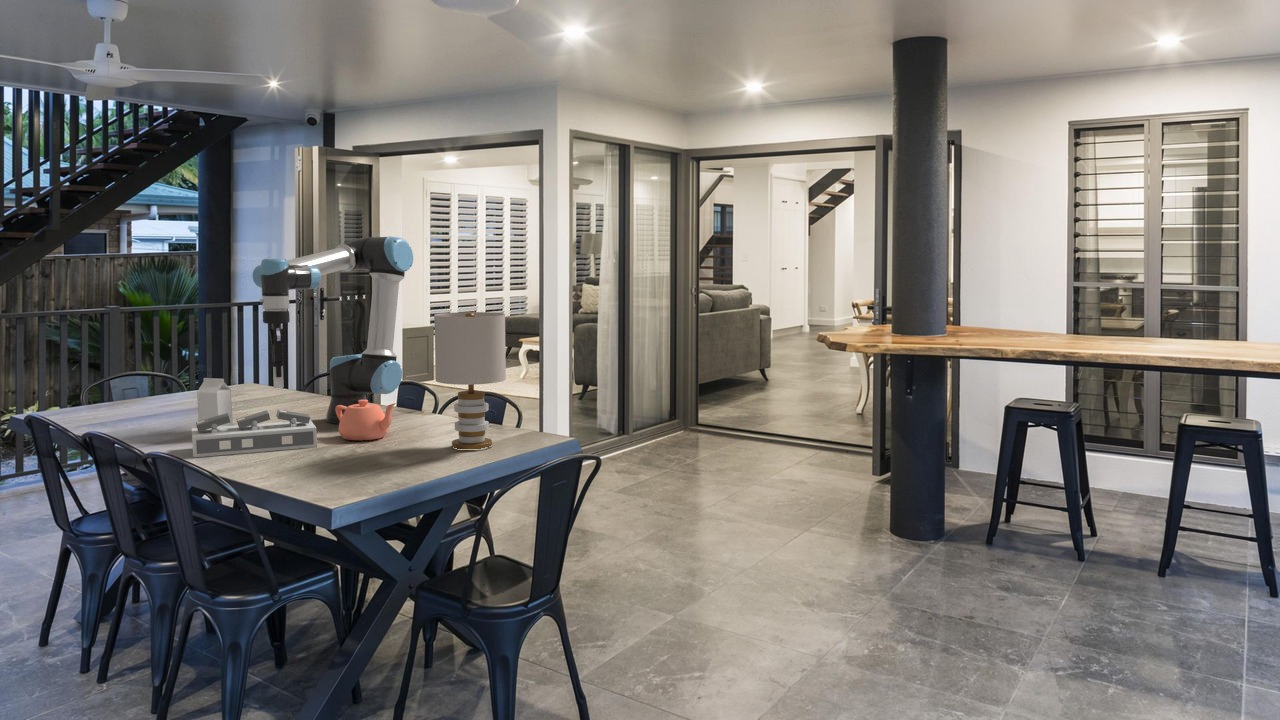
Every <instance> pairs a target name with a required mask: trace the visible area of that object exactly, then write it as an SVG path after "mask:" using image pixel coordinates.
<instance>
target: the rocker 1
mask: <svg viewBox="0 0 1280 720" xmlns="http://www.w3.org/2000/svg"><path fill="white" fill-rule="evenodd" d="M227 423H230V418H229V415H228V413H225V414H222V415H218V416H215V417H212V418H208V419H205V420H201V421H199V420H198V421H196V422H195V427H196V428H197V429H198V432H200V431H203V430H207V429H210V428H213V429H216V428H217V426H220V425H223V424H227Z"/></svg>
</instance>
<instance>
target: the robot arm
mask: <svg viewBox="0 0 1280 720" xmlns="http://www.w3.org/2000/svg"><path fill="white" fill-rule="evenodd" d="M413 263H414V252H413V249H412V247H411V246H410V243H409V242H408V241H407V240H405V239H404V238H401V237H397V236H396V237H395V236H379V237H378V236H368V237H367V236H366V237H362V238H357V239H354V240H351V241H348V242H344V243H340V244H338V245H337V246H336V247H335V248H332V249H328V250H325V251H321V252H317V253H316V252H315V253H312V254H308V255H304V256H299V257H296V258H292V259H286V258H263V259H262V260H261V262H260V264H259V265H257V266H256V267H255V268H254V269H253V271H252V276H251V277H252V281H253V282H254V284H255V285H256V286H257V288H258V287H259V288H261V297H262V298H261V299H260V300H259V302H260V303H262V309H263V312H262V322H263V324H268V325H269V324H270V325H271V328H269V329H268V333H269V334H268V335H269V336H270V338H269V339H270V343H271V354H272V355H271V359H272V360H271V362H272V364H270V365H271V368H273V370H272V371H273V375H272V376H273V377H272V379H273V388H274V389H281V388H282V389H283V388H284V387H285V386H284V366H285V363H284V342H285V341H284V340H285V339H284V337H285V329H284V328H282V324H288V323H290V320H291V319H290V311H289V310H288V309H290V295H289V293H290V290H308V291H309V290H314V289H316V288H318V287H319V286H320V284H321V283H322V282H321V281H322V276H326V275H328V274H332V273H337V272H339V271H342V272H352V271H369V276H370V277H371V278H372V279H373V282H372V293H371V294H372V295H371V304H370V305H371V306H370V314H369V324H368V335H367V336H368V337H367V344H366V349H365V350H364V351H363V352H361V353H359V354H350V355H349V354H347V355H342V356H340V355H339V356H333V357H332V358H331V359H330V362H329V383H330V402H329V406H328V408H327V412H326V422H327V423H331V424H336V425H337V424H338V425H339V424H340V420H339V419H338V417H337V414H336V410H335V408H336V406H337V405H343V406H346V407H348V406H350V405H355V404H359V403H358V400H367V397H366V394H375V395H389V394H391V393H393V392H395V390H396V389H397V388H398V387H399V386H400V384H401V382H402V380H403V369H402V367H401V364H400V363H399V362H397V355H396V354H395V352H394V342H395V341H394V339H395V330H396V320H397V309H398V308H397V307H398V301H399V300H398V299H399V289H400V282H401V281H403V280H404V279H405V273H406V272H407V271H409V270H410V269H411V267H412V266H413ZM367 404H369V402H368V403H367ZM344 412H345V410H343V409H342V414H344Z"/></svg>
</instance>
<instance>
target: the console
mask: <svg viewBox="0 0 1280 720" xmlns="http://www.w3.org/2000/svg"><path fill="white" fill-rule="evenodd" d="M317 434H318V432H317V427H316V425H315V424H314V423H313V421H312V420H311V419H310V421H309V424H307V423H300V422H296V423H292V422H291V421H278V422H277V421H276V422H266V423H263V422H262V423H258V424H257V425H256V426H253V425H251V426H247V427H244V428H241V429H239V426H238V424H237V425H233V426H221V427H217V428H216V429H213V428H210V429H207V430H203V431H200V432H198V429H197V427H194V428H191V443H192V458H203V457H204V458H205V457H214V456H226V455H227V456H228V455H238V454H241V455H242V454H252V453H263V452H273V451H284V450H285V451H287V450H296V449H297V450H298V449H309V448H310V449H311V448H317V447H318V439H317Z"/></svg>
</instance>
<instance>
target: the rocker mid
mask: <svg viewBox="0 0 1280 720" xmlns="http://www.w3.org/2000/svg"><path fill="white" fill-rule="evenodd" d="M270 420H271V417H270V414H269V411H268V410H267V409H266V410H262V411H260V412H256V413H253V414H249V415H246V416H243V417H240V418H236V423H237V425H238V426H239V429H241V428H244V427H247V426H251V425H253V426H256V425H257V424H262V423H263V422H267V421H270Z"/></svg>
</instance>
